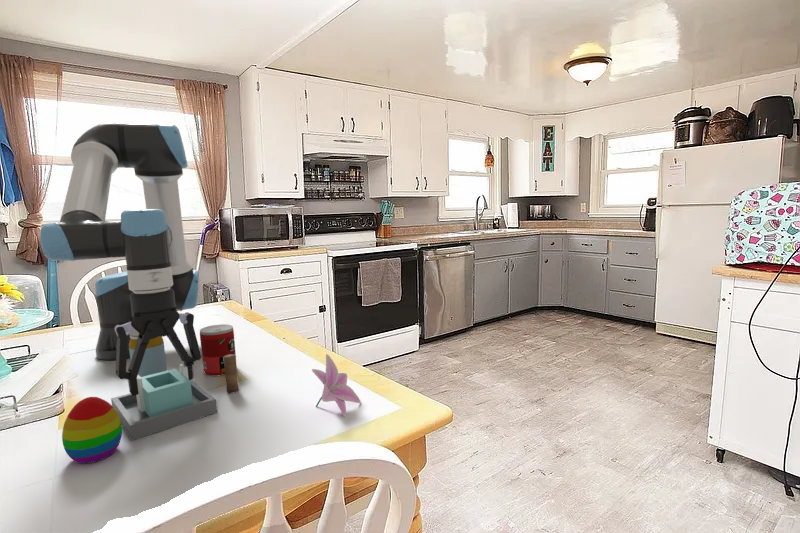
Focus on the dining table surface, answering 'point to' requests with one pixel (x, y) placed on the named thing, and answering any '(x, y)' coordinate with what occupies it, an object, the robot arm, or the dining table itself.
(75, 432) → the decorative egg
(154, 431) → the tray
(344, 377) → the lily
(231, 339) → the canned food
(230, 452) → the dining table surface
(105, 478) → the dining table surface
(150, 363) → the bottle
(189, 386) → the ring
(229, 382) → the post
